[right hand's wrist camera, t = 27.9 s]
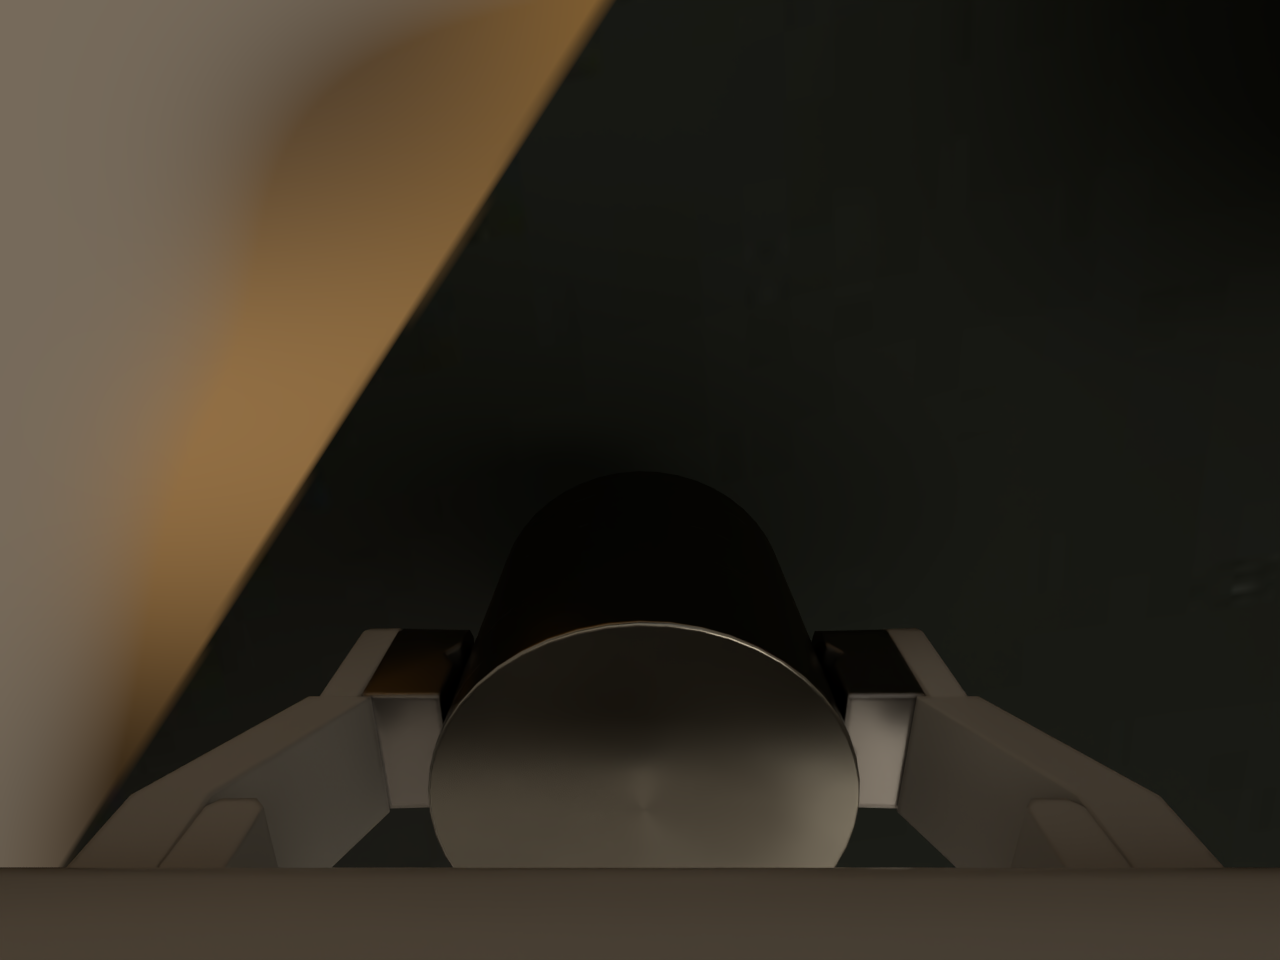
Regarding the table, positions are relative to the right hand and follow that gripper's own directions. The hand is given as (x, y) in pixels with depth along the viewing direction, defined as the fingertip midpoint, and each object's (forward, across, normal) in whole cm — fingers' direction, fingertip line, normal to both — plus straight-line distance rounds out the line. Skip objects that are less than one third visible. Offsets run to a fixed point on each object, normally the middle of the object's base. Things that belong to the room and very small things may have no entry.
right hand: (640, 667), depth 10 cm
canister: (+2, 0, 0) cm, 2 cm away
